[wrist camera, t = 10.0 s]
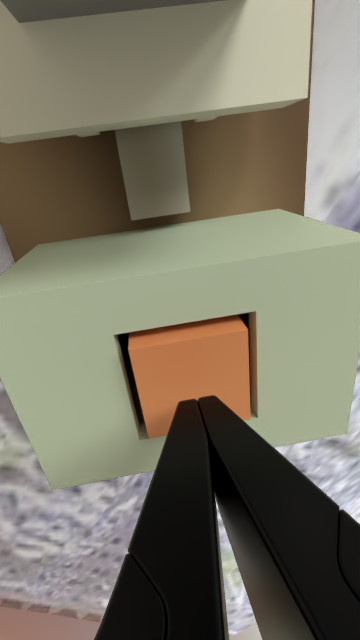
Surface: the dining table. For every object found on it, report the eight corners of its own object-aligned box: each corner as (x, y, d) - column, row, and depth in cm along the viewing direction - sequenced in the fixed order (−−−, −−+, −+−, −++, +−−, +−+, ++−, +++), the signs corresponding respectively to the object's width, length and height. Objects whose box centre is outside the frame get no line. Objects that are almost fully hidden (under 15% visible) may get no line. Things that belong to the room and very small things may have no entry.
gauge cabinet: (278, 208, 12) (377, 238, 7) (276, 344, 15) (346, 433, 10) (25, 246, 12) (-58, 306, 7) (71, 379, 14) (36, 493, 9)
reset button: (211, 276, 11) (247, 329, 7) (217, 345, 12) (250, 419, 9) (130, 289, 11) (128, 350, 7) (144, 357, 12) (148, 438, 8)
